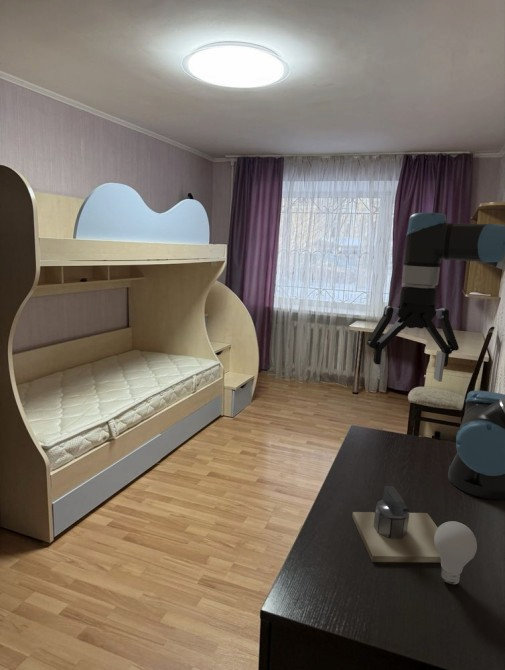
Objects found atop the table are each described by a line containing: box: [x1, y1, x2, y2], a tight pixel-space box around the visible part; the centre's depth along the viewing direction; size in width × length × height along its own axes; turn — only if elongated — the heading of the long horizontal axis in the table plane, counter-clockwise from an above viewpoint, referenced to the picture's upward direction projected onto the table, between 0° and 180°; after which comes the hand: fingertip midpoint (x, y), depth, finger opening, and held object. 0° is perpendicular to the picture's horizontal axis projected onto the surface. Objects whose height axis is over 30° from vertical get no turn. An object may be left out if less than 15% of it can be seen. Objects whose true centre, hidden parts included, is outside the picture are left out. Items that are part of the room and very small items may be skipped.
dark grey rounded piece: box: [374, 485, 410, 539], centre depth 92 cm, size 6×6×8 cm
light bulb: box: [434, 520, 478, 585], centre depth 80 cm, size 7×7×11 cm
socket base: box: [351, 511, 441, 563], centre depth 92 cm, size 16×14×4 cm
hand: (408, 379), depth 107 cm, fingers open, 13 cm apart
